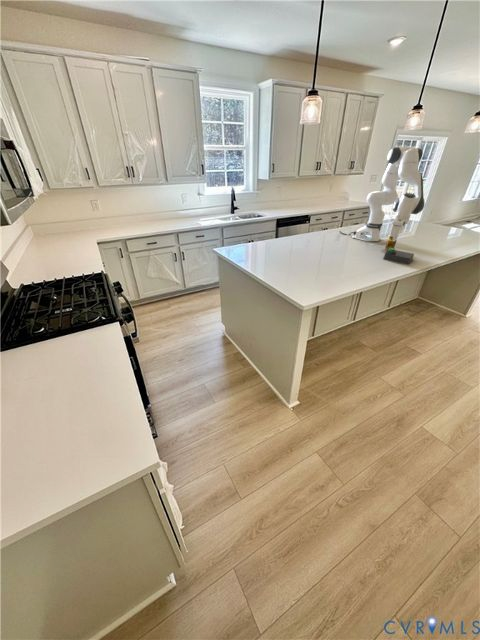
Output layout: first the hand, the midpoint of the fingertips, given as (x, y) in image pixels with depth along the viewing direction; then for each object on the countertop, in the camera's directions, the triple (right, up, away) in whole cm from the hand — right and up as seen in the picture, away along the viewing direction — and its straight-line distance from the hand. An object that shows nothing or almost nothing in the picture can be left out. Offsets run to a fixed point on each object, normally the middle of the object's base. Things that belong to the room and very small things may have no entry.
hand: (394, 240), depth 181 cm
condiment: (+9, -2, +21) cm, 23 cm away
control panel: (+6, -12, +6) cm, 14 cm away
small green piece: (0, -6, +4) cm, 7 cm away
